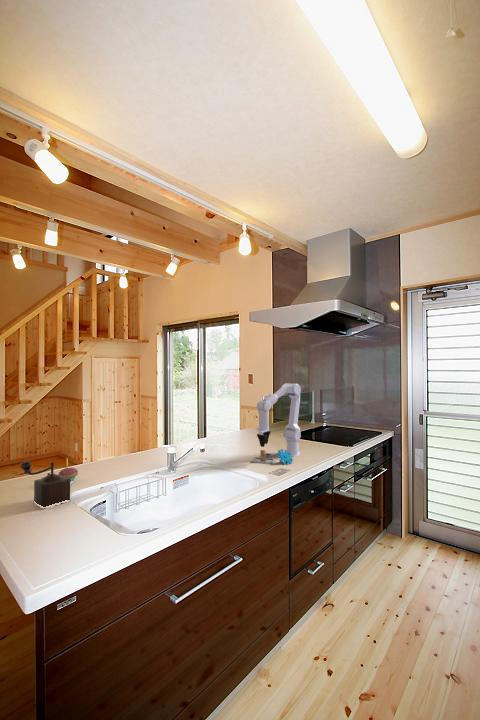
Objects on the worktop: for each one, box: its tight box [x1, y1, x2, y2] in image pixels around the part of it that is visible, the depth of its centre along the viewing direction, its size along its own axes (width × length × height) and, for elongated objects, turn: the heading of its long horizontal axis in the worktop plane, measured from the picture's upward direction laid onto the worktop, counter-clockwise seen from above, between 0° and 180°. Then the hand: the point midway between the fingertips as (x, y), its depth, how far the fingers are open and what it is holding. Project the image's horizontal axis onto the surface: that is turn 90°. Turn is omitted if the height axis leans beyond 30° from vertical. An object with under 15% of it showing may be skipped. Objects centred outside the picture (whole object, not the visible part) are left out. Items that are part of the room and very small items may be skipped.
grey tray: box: [250, 456, 276, 465], centre depth 197 cm, size 8×12×1 cm
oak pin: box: [260, 449, 267, 462], centre depth 197 cm, size 3×3×6 cm
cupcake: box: [58, 458, 79, 482], centre depth 164 cm, size 9×8×12 cm
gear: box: [276, 448, 295, 465], centre depth 195 cm, size 11×6×10 cm
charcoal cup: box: [266, 452, 274, 458], centre depth 205 cm, size 6×6×2 cm
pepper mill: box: [20, 460, 71, 507], centre depth 139 cm, size 16×11×18 cm
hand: (264, 445), depth 198 cm, fingers open, 7 cm apart
